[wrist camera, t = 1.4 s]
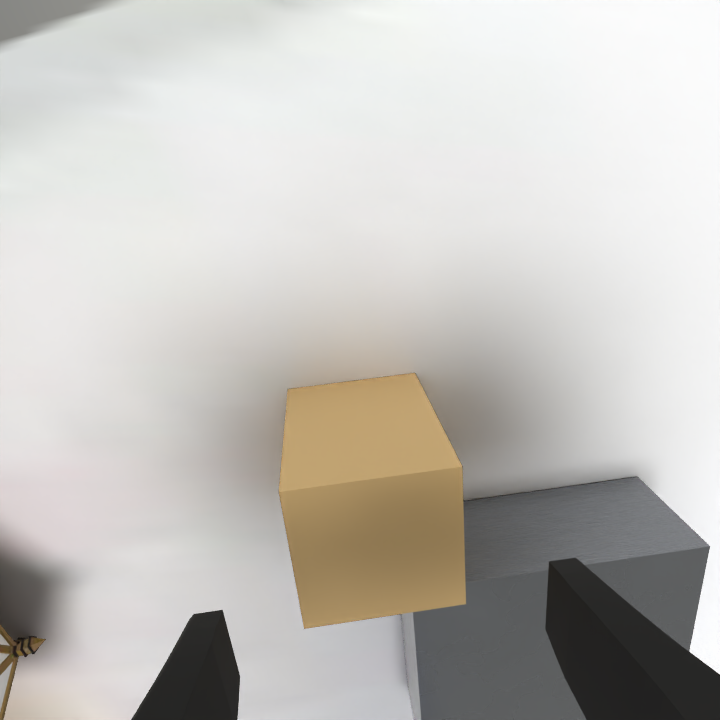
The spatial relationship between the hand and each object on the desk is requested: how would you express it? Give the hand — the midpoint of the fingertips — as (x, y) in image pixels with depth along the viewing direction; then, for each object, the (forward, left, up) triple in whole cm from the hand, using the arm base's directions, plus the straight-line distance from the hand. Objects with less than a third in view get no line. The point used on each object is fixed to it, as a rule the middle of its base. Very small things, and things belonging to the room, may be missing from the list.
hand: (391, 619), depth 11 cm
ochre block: (0, 0, -8) cm, 8 cm away
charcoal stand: (-9, -6, -8) cm, 13 cm away
